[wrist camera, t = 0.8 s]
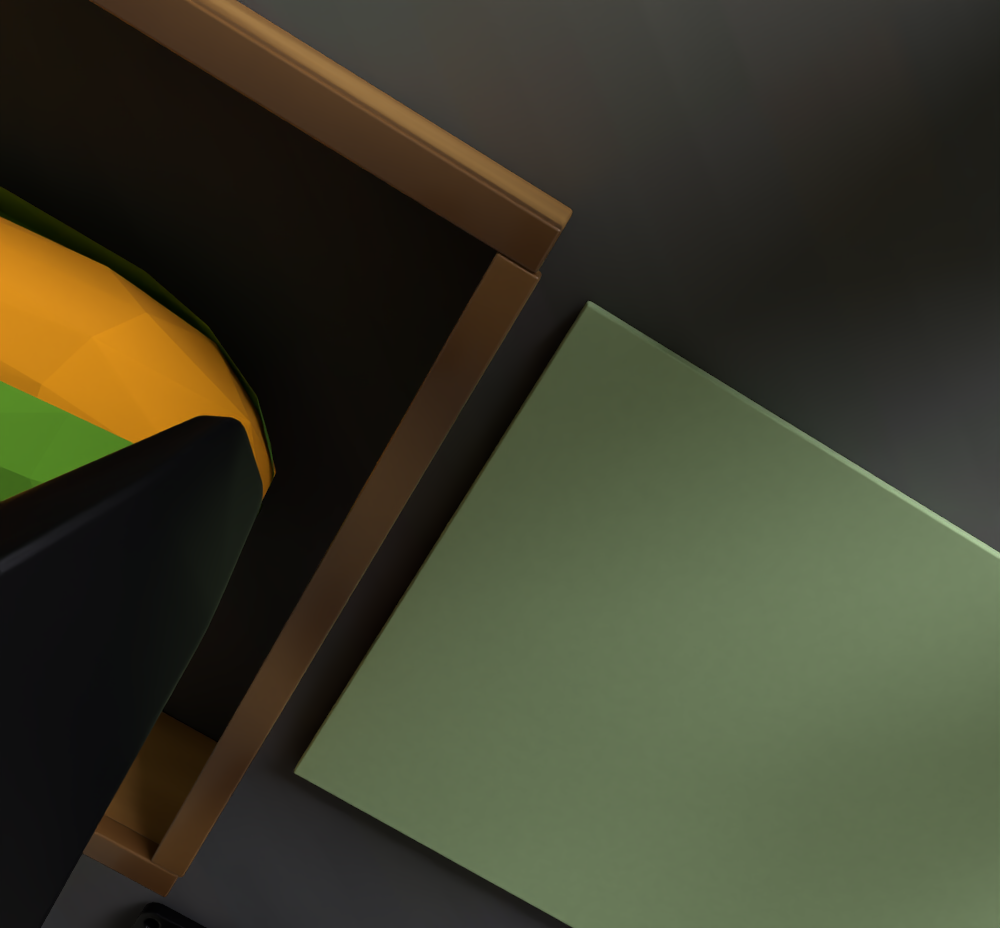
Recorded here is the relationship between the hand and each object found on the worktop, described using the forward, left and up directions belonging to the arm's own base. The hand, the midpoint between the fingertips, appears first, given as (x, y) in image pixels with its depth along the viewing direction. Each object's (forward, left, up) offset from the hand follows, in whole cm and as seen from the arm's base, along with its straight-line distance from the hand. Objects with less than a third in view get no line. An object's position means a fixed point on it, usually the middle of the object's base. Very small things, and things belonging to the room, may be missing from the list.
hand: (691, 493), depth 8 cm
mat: (-9, -11, -13) cm, 19 cm away
